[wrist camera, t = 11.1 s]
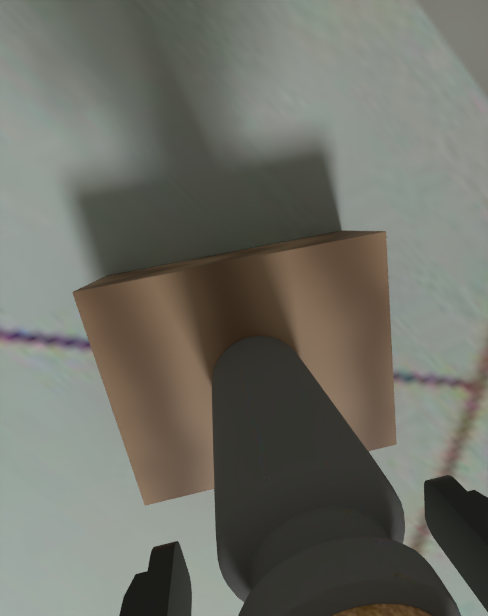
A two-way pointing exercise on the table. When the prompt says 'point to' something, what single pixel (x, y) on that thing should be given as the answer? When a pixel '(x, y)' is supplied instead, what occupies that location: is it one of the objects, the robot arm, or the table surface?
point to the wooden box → (230, 329)
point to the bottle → (305, 499)
